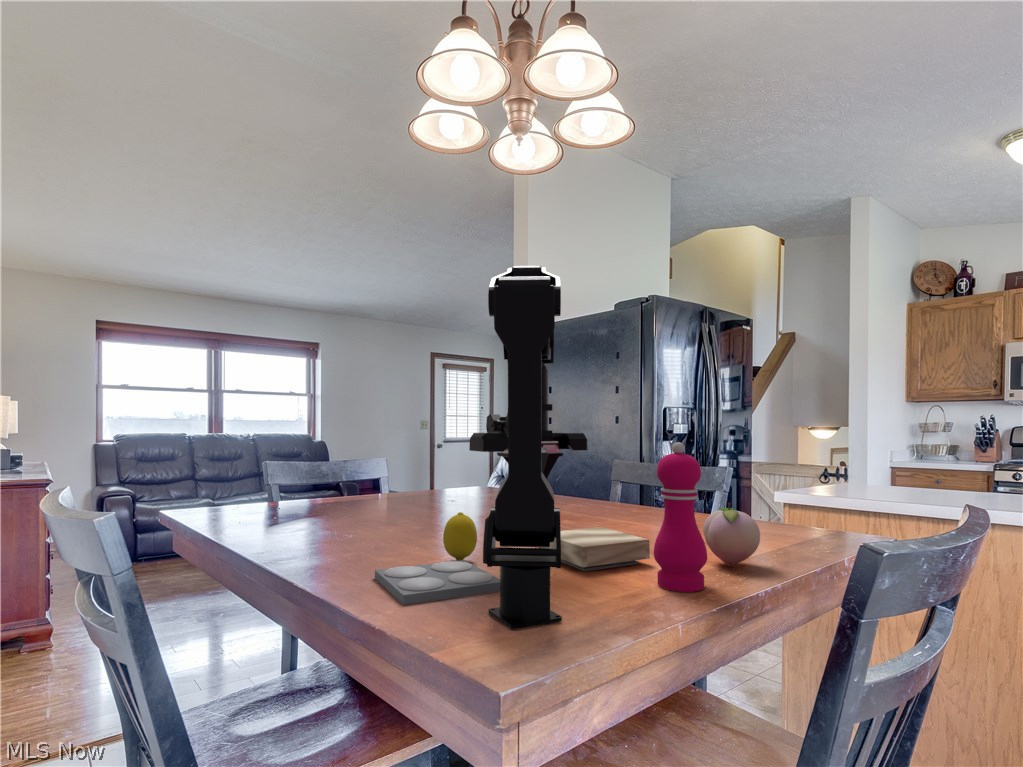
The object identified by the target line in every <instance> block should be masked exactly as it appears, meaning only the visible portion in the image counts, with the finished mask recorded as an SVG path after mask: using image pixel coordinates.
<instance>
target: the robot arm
mask: <svg viewBox="0 0 1023 767" xmlns="http://www.w3.org/2000/svg"><path fill="white" fill-rule="evenodd" d="M506 270H507V271H505V272H503V273H500V274H498V275H496V276H493V277H491V279H490V283H489V286H488V295H487V296H488V297H487V298H488V299H487V300H488V301H487V304H488V314H489V317H493V329H494V331H495V333H496V335H497V337H498V338H499V339H500V341H501V343H502V346H503V347H502V348H503V359H504V360H507V414H506V416H501V414H498V413H497V414H496V413H494V414H493V413H491V414H488V415H487V416H486V426H485V427H486V432H473V433H472V434H471V436H470V438H469V449H468V450H469V451H472V452H482V453H483V452H484V453H496V454H497V456H498V457H502V458H503V459H504V461H506V462H507V463H506V464H508V465H507V466H508V468H507V472H508V473H507V474H506V476H505V478H504V480H503V482H502V483H501V485H500V486H499V489H498V491H497V493H496V497H495V502H494V507H493V506H492V507H490V510H489V513H488V516H487V517H486V518H485V520H484V532H483V544H482V545H483V547H482V563H483V564H485V565H486V566H487V568H492V567H499V579H500V591H499V606H498V607H492V608H489V609H488V612H487V613H488V615H490V616H492V617H493V618H494V619H496V620H497V621H498V622H500V623H502V624H503V625H505V626H507V627H508V628H509V629H511V630H520V629H526V628H531V627H536V626H538V627H539V626H542V625H548V624H553V623H560V622H562V621H563V620H562V619H563V617H562V615H560V614H559V613H557V612H556V611H553V610H551V568H556V569H562V562H561V531H562V530H561V508H559V507H555V491H554V490H553V487H552V486H551V483H550V481H549V480H548V478H549V476H550V474H551V471H552V470H553V468H554V466H555V465H556V463H557V461H558V459H559V458H560V457H564V452H560V450H571V451H588V450H589V442H588V439H587V437H586V435H585V433H583V432H553V430H550V429H549V411H550V412H551V411H553V404H551V403H549V369H548V368H547V367H548V366H546V365H549V366H550V365H551V366H552V365H554V354H555V353H554V351H555V328H556V327H555V324H556V323H555V322H556V321H555V317H561V312H562V310H561V308H562V306H561V305H562V293H561V291H562V288H561V287H562V286H561V278H560V276H559V275H555V274H553V273H551V272H549V271H547V270H546V267H545V266H544V267H542V266H541V265H513V266H512V267H508V268H507V269H506ZM549 356H550V357H549ZM554 538H555V543H556V548H550V542H553V541H554ZM497 543H499V546H500V547H498V546H496V544H497ZM539 547H544V548H539Z"/></svg>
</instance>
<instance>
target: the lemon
mask: <svg viewBox="0 0 1023 767" xmlns="http://www.w3.org/2000/svg"><path fill="white" fill-rule="evenodd" d="M442 540H443V542H442V543H443V545H444V550H445V551H446V552H447V554H448V555H449V556H450V557H452V558H454V559H455V561H460V560H465V559H466V558H467V557H469V556H470V555H471V554H473V552H474V551H475V549H476V546H477V543H478V531H477V527H476V524H475V522H474V520H473V519H472V518H471V517H469V515H466V514H465V513H463V512H461V511H460V512H458V513H457V514H455V515H453V516H451V517H450V518H449V519H448V521H447V522H446V524H445V526H444V529H443V537H442Z"/></svg>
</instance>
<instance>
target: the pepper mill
mask: <svg viewBox="0 0 1023 767" xmlns="http://www.w3.org/2000/svg"><path fill="white" fill-rule="evenodd" d="M685 449H686V448H685V445H684V444H683V443H682V442H679V441H676V442H674V443H673V444H672V446H671V450H672V453H670V454H669V453H668V454H667V455H665V456H663V457H662V458H661V459H660V460H659V461H658V464H657V467H656V476H657V479H658V480H659V482H660V483H661V484H662V486H663V487H661V488H660V491H661V495H660V498H662V499H663V504H664V511H663V512H664V513H663V514H664V515H663V520H662V525H661V527H660V530H659V531H658V534H657V537H656V538H655V542H654V546H653V558H654V560H655V562H656V563H657V564H658V566H659V567H660V569H659V570H658V571H657V585H658V587H659V588H661V587H662V589H664V588H665V589H664V590H667V589H668V591H670V590H673V591H672V592H676V591H680V592H679V593H696V592H695V591H697V592H700V590H701V591H703V590H704V588H705V575H704V574H703V573H702V572H701V570H702V568H703V567H704V566H705V565H706V563H707V561H708V551H707V546H706V543H705V541H704V537H703V536H702V533H701V531H700V529H699V527H698V524H697V521H696V516H695V504H696V503H695V502H696V501H695V500H698V492H699V491H698V489H697V488H696V485H697V483H698V482H699V481H700V479H701V477H702V469H701V466H700V464H699V462H698V460H697V459H696V458H695V457H694V456H692V455H690V454H686V453H684V452H685Z"/></svg>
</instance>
